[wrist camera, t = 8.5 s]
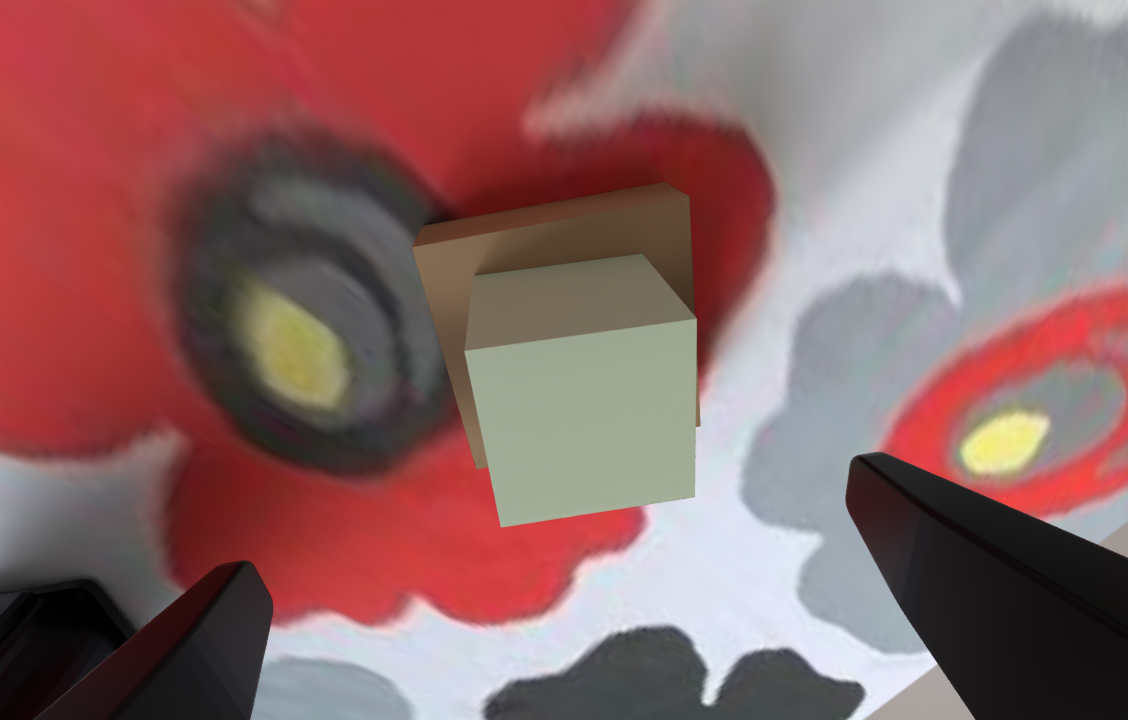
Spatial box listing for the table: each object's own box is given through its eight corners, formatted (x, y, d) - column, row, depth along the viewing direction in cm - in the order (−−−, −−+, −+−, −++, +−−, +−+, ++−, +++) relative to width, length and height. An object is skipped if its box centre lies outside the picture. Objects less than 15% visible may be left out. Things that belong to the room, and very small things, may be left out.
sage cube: (642, 253, 16) (696, 318, 12) (647, 397, 19) (694, 497, 14) (473, 276, 16) (464, 350, 12) (499, 418, 18) (500, 527, 14)
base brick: (676, 384, 22) (700, 425, 19) (479, 421, 22) (476, 469, 19) (661, 179, 18) (689, 196, 16) (424, 222, 18) (411, 247, 15)
